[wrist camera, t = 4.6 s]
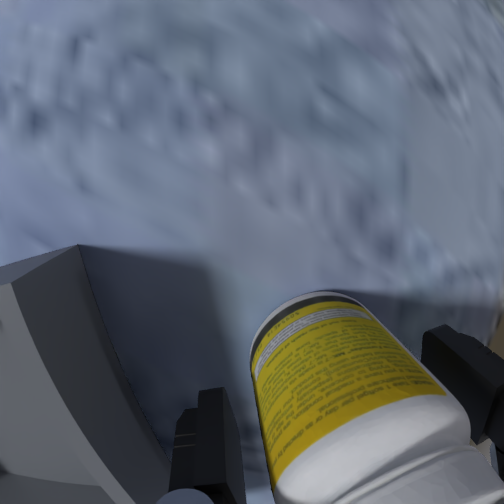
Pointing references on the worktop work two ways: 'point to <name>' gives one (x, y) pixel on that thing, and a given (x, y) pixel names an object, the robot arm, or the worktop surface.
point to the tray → (67, 395)
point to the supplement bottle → (358, 413)
